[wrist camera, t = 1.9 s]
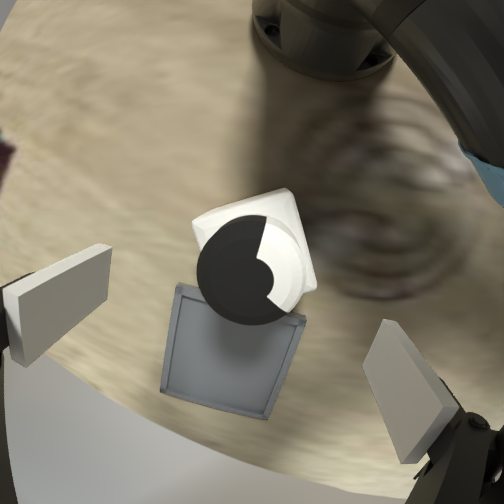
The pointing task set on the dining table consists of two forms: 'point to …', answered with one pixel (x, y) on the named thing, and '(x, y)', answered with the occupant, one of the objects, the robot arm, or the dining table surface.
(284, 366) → the tray
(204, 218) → the container
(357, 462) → the dining table surface
